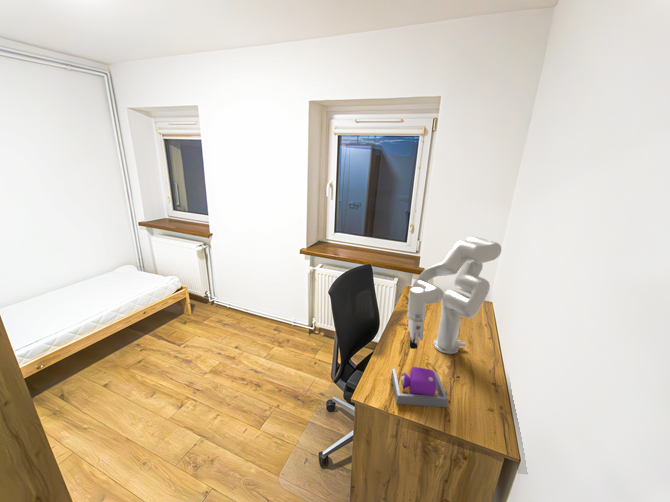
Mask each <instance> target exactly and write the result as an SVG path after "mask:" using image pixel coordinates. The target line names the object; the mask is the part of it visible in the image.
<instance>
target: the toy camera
mask: <svg viewBox="0 0 670 502" xmlns="http://www.w3.org/2000/svg"><path fill="white" fill-rule="evenodd" d="M434 372H435V371H434V370H432V369H430V368H429V369H428V368H423V367H418V366H417V367H416V366H412V367H411V370H410V374H409V375H408V374H407V372H403V373H402V374H403V375H402V376H401V378H400V382H401V385H402V389H403V390H404V389H407V388H408V387H409V388H408V389H409V394H415V395H429V396H436V391H437V389H436V380H435V375H434Z"/></svg>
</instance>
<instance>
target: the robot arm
mask: <svg viewBox="0 0 670 502" xmlns="http://www.w3.org/2000/svg"><path fill="white" fill-rule="evenodd" d="M501 254H502V246H501V245H500V243H499V242H496V241H493V240H489V239H485V238H482V237H477V236H468V237H467V238H465V240H458V241H456V242H455V243H454V245H453V246H452V247H451V248H450V249H449V250H448V252H447V254H445V256H444V257H443V258H442V260H441V261H440V262H439V263H436V264H433V265H432V266H429V267H428V268H426V269H424V270H422V272H421V273H420V274H419V275H418V276H417V278H416V279H415V280H414V283H413V284H412V287H411V288H410V289H409V292H408V303H407V305H408V306H407V315H406V316H407V319H408V323H407V324H408V326H407V327H408V332H409V334H410V339H409V348H410V349H414V350H417V349H418V346H419V345H418V344H419V340H420V341H423V339H424V320H425V315H426V308H427V305H429V304H436V303H439V302H441V311H440V312H441V313H440V319H439V326H438V331H437V336H436V338H435V339H434V340H433V341H432V342H433V343H432V345H433V348H435V349H436V350H437V351H439V352H440V353H442V354H443V353H444V354H448V355H453V354H456V353H458V352H459V349H460V348H459V347H466V346H467V343H466V342H463V341H462V340H461V339H458V337H459V331H460V327H461V326H460V325H461V322H462V317H464V318H466V319H472V318H474V317H475V316H476V315H477V314H478V312H479V311H480V309H481V308H482V305H483V304H484V302H485V299H486V298H487V296H488V294H489V291H490V282H489V281H488V280H487V279H486V278H483V277H480V274H481V272H482V270H483V264H484V263H488V262H491V261H494V260H496V259H497V258H499V257H500V255H501ZM457 273H458V274H457ZM455 275H456V277H455V279H454V284H453V285H454V287H455V288H456V289H458V290H460V291H462V292H463V293H461V292H459V291H457V290H453V289H447V290H445V291H443V290H442V288H440V287H439V286H436V285H434V284H432V283H430V280H431V281H432V280H433V279H434V278H436V277H442V276H443V277H444V276H445V277H446V276H455ZM464 293H466V294H464ZM467 294H468V295H470V296H468V295H467Z"/></svg>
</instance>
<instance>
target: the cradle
mask: <svg viewBox="0 0 670 502" xmlns="http://www.w3.org/2000/svg"><path fill="white" fill-rule="evenodd" d="M433 372H434V375H435V380H436V392H437V394H438V395H435V396H429V395H415V394H410V393H403V392H401V391H400V390H401V389H400V386H399V381H398V377H397V372H396V369H395V368H392V369H391V382H392V386H393V393H394V397H395V402H396V404H397V405H411V406H422V407H423V406H424V407H436V408H437V407H438V408H447V407H448V406H447V405H448V400H449V398H448V395H447V393H446V391H445V389H444V386H443V384H442V381H441V379H440V377H439V375H438V372H437V371H433Z"/></svg>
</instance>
